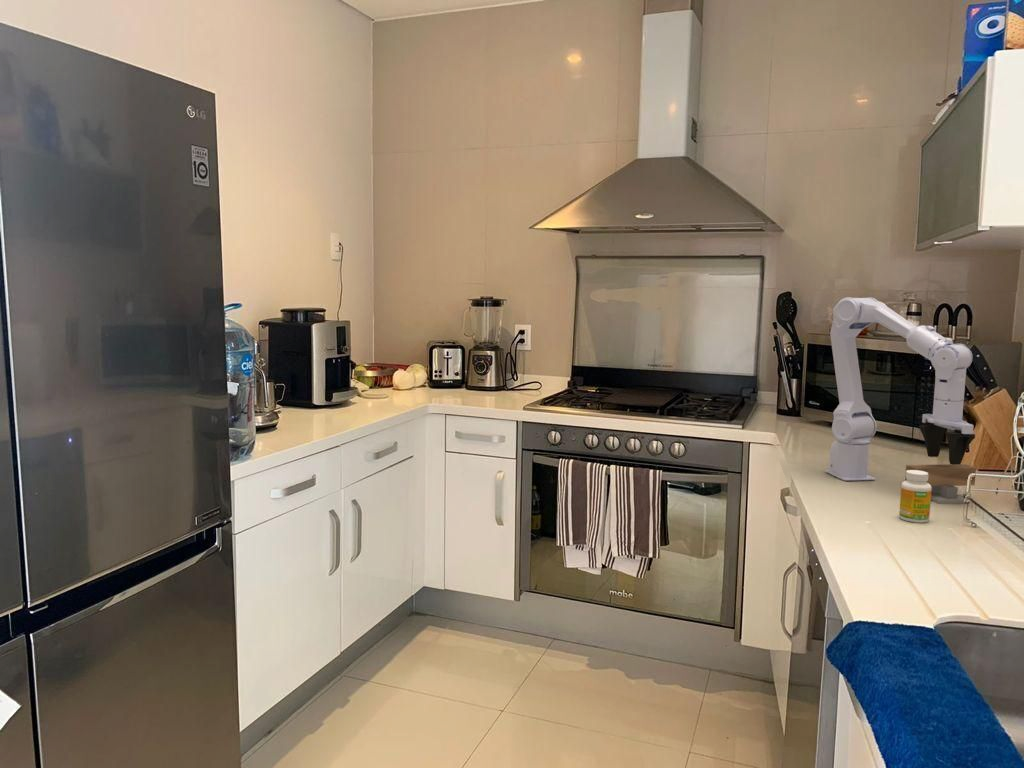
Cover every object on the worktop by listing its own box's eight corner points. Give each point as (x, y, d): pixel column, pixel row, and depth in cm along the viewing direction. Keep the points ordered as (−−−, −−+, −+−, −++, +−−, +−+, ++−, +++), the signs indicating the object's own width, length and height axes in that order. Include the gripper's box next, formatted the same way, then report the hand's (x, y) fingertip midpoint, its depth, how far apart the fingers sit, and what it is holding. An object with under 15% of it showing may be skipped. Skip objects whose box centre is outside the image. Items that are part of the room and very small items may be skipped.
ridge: (914, 493, 176) (915, 479, 176) (943, 492, 177) (944, 478, 177) (939, 503, 168) (940, 489, 167) (969, 503, 168) (970, 488, 168)
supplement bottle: (913, 524, 153) (916, 475, 152) (892, 516, 158) (896, 469, 157) (935, 522, 154) (939, 474, 153) (914, 514, 159) (918, 468, 158)
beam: (904, 482, 173) (906, 465, 172) (963, 481, 174) (965, 464, 174) (914, 486, 169) (915, 468, 169) (974, 485, 171) (976, 467, 170)
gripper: (911, 395, 176) (907, 453, 178) (953, 404, 162) (948, 468, 164) (940, 394, 177) (936, 453, 179) (984, 404, 163) (979, 467, 164)
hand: (943, 460), depth 171 cm, fingers open, 7 cm apart
